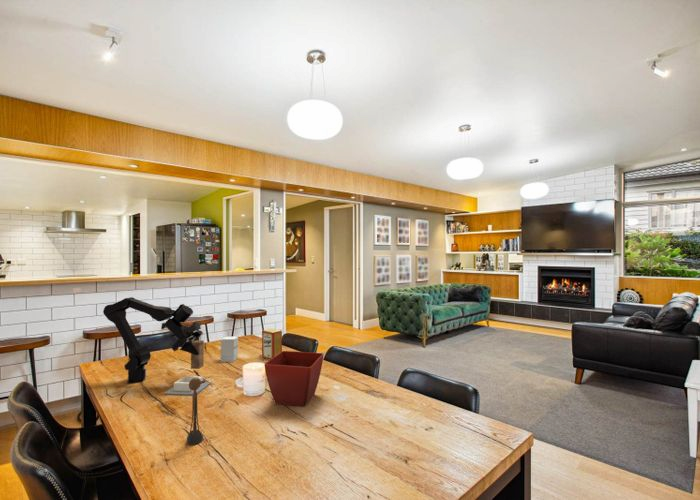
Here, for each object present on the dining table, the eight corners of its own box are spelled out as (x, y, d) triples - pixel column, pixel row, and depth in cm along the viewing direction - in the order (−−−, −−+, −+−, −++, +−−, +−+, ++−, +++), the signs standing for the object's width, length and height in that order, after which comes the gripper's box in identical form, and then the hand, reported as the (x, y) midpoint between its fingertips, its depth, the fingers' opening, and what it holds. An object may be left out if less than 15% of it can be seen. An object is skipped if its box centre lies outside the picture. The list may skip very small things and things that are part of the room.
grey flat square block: (163, 394, 148) (163, 385, 148) (182, 382, 162) (182, 373, 162) (195, 395, 146) (195, 386, 146) (211, 383, 160) (211, 374, 160)
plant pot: (310, 411, 131) (310, 367, 131) (263, 407, 135) (263, 363, 135) (324, 392, 150) (324, 353, 150) (282, 388, 154) (282, 350, 154)
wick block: (190, 368, 160) (191, 342, 160) (195, 365, 164) (195, 340, 164) (199, 368, 160) (199, 342, 160) (203, 366, 164) (203, 340, 164)
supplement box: (233, 362, 192) (233, 339, 192) (220, 362, 192) (220, 339, 192) (238, 358, 199) (238, 336, 200) (225, 358, 200) (225, 336, 200)
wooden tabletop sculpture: (200, 434, 115) (200, 373, 115) (208, 438, 112) (209, 376, 112) (183, 442, 110) (183, 378, 110) (191, 446, 107) (191, 381, 108)
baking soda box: (281, 357, 200) (281, 330, 200) (273, 360, 195) (273, 332, 195) (270, 355, 206) (270, 328, 206) (262, 357, 200) (262, 329, 201)
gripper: (178, 320, 153) (202, 346, 152) (199, 313, 172) (220, 336, 171) (161, 338, 154) (185, 364, 153) (183, 329, 172) (205, 352, 171)
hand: (200, 353), depth 162 cm, fingers closed on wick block, 4 cm apart
